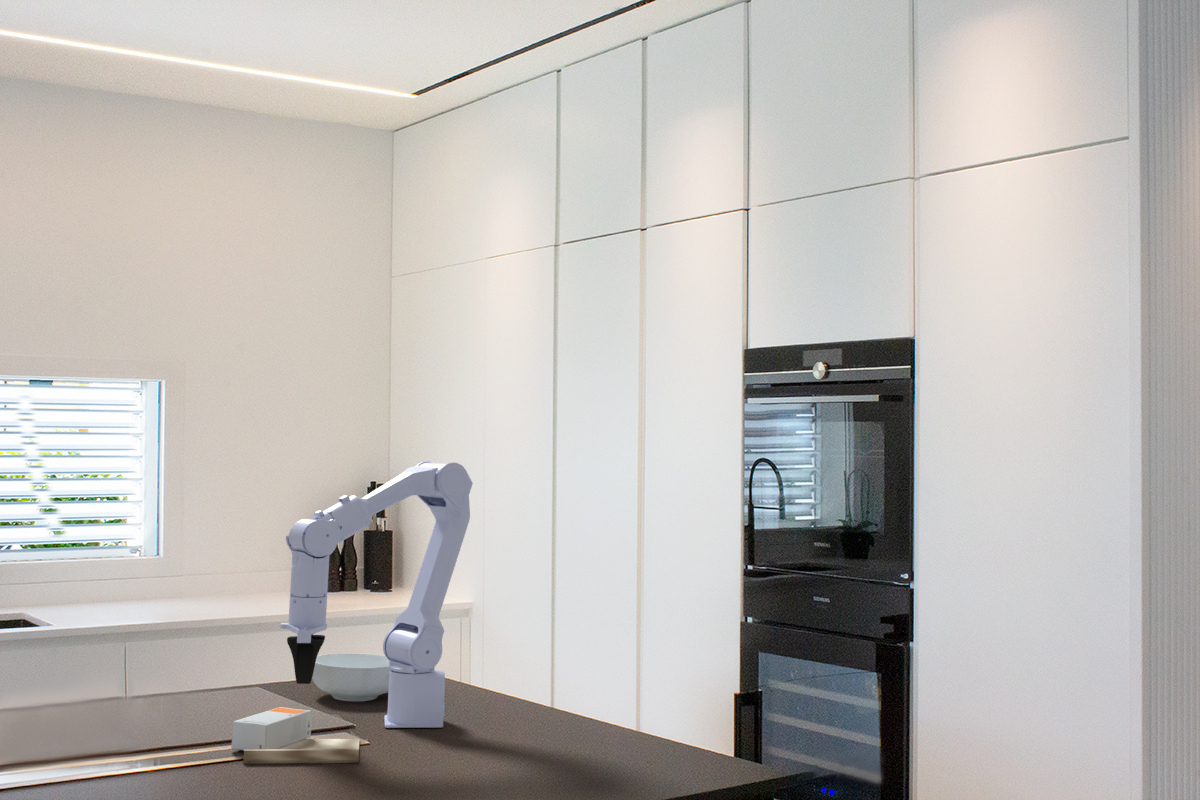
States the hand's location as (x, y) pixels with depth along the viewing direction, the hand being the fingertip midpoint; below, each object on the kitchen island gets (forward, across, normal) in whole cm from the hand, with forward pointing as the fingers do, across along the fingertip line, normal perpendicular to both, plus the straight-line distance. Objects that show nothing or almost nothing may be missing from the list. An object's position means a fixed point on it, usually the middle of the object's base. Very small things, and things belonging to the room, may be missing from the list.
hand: (303, 683), depth 181 cm
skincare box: (+6, 0, -1) cm, 6 cm away
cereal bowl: (+9, -32, +8) cm, 34 cm away
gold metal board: (+8, +9, +1) cm, 13 cm away
